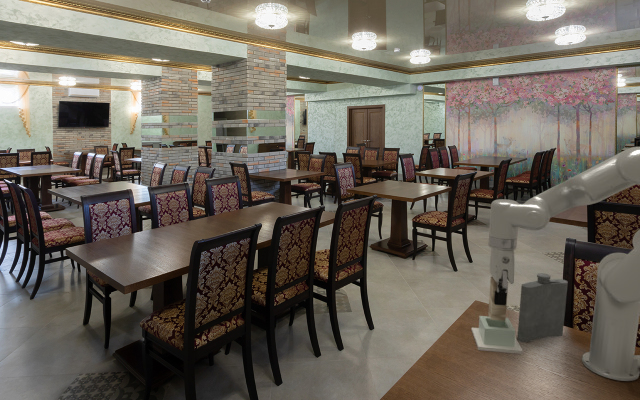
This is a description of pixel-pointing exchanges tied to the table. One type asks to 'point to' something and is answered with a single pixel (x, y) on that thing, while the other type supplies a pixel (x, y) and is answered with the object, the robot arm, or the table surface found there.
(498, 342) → the socket holder
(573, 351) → the table surface
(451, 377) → the table surface
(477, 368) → the table surface
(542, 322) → the hip flask
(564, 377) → the table surface
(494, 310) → the beech peg
